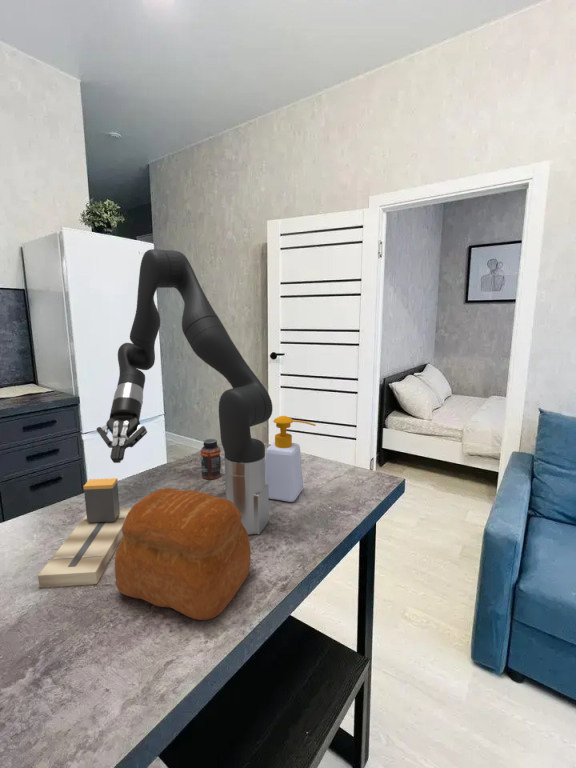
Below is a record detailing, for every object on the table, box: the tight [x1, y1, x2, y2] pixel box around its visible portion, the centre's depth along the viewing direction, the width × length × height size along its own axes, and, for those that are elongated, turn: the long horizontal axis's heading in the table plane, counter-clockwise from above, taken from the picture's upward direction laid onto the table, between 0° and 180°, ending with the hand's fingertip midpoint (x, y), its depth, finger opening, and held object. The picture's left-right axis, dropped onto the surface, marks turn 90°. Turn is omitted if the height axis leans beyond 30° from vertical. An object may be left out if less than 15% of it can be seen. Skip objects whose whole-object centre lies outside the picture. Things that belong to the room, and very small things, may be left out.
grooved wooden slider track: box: [37, 507, 132, 589], centre depth 83 cm, size 24×10×3 cm, turn 6°
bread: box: [114, 487, 252, 621], centre depth 71 cm, size 18×21×17 cm
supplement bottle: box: [200, 438, 222, 480], centre depth 119 cm, size 6×6×11 cm
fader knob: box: [83, 477, 120, 523], centre depth 89 cm, size 4×6×9 cm, turn 96°
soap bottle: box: [265, 415, 317, 503], centre depth 106 cm, size 10×14×22 cm
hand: (116, 461), depth 99 cm, fingers closed
